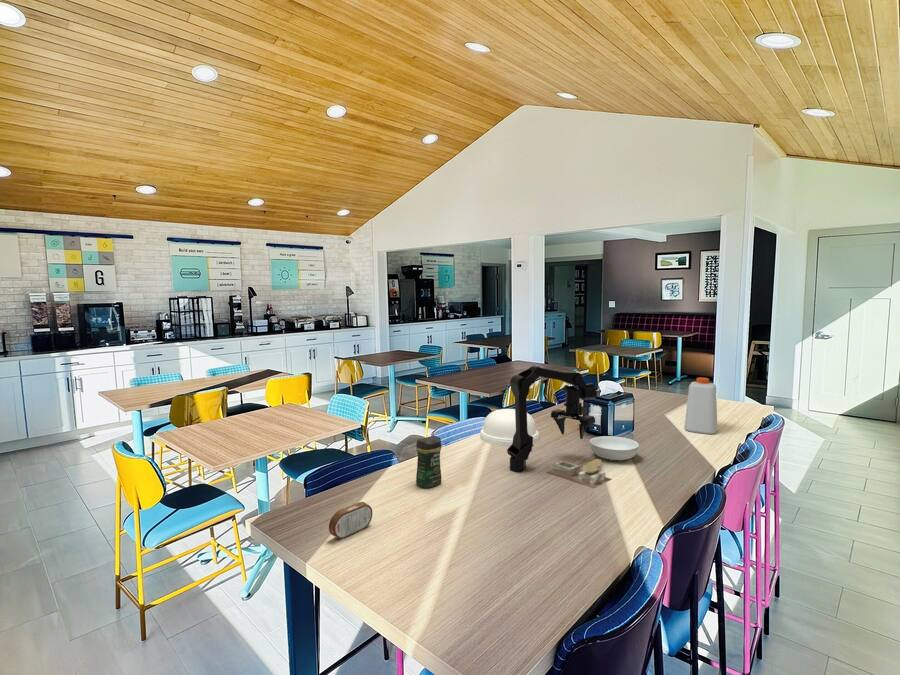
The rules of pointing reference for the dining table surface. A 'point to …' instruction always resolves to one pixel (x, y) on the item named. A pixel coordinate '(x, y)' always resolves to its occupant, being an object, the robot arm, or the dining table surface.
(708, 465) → the dining table surface
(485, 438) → the dome cover
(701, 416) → the plastic bottle
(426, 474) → the coffee jar
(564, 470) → the board
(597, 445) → the serving bowl
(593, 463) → the gold rectangular bar
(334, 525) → the tin
